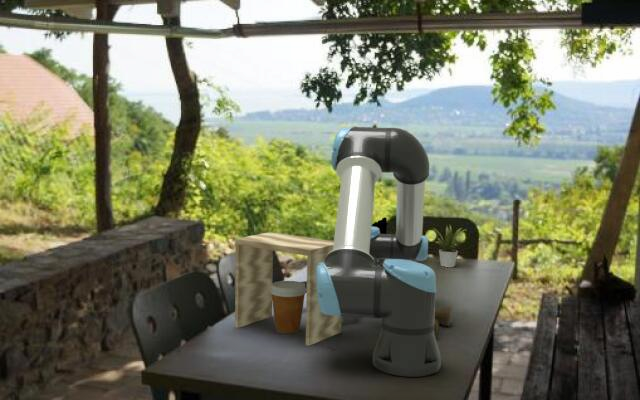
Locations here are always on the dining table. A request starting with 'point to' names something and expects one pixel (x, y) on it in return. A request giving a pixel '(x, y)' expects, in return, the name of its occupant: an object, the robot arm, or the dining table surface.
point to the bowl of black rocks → (381, 229)
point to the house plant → (448, 248)
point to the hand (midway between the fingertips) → (304, 298)
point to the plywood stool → (258, 277)
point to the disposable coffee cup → (288, 305)
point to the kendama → (442, 318)
